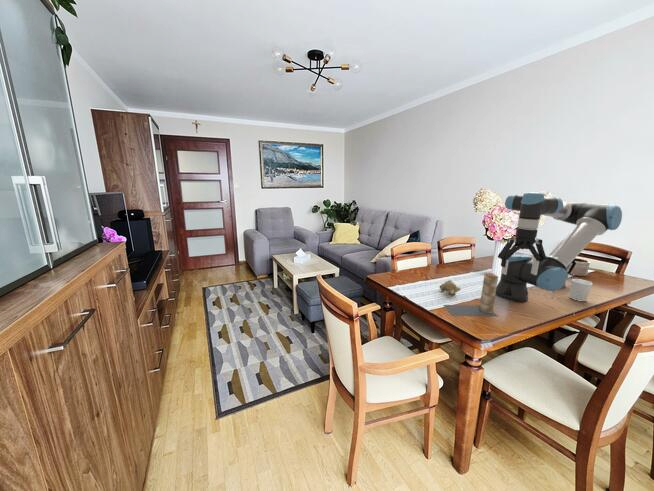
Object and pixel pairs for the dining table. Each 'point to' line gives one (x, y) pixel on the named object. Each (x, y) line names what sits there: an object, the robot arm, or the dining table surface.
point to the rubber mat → (467, 310)
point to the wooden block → (488, 292)
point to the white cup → (580, 289)
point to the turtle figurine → (449, 287)
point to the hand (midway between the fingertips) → (518, 273)
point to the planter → (580, 267)
